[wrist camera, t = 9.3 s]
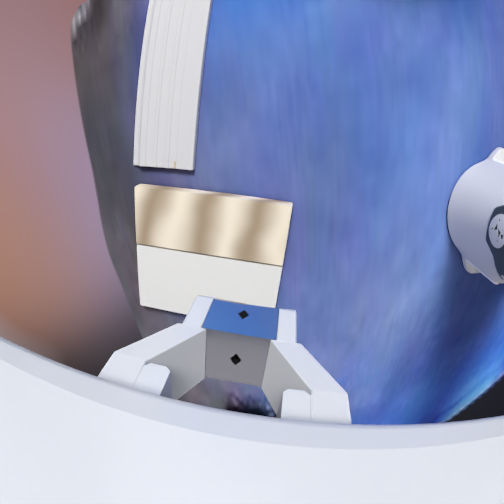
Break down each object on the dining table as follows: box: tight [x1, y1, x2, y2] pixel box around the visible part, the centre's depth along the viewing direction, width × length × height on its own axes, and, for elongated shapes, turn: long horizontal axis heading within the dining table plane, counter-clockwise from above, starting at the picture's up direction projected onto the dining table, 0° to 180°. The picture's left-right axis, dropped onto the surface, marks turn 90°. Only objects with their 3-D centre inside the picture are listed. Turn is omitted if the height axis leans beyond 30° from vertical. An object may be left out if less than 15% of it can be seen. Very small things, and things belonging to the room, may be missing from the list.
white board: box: [137, 243, 282, 315], centre depth 45 cm, size 20×10×2 cm, turn 84°
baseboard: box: [134, 0, 213, 170], centre depth 33 cm, size 30×3×10 cm
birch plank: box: [135, 184, 292, 266], centre depth 41 cm, size 20×8×2 cm, turn 84°
